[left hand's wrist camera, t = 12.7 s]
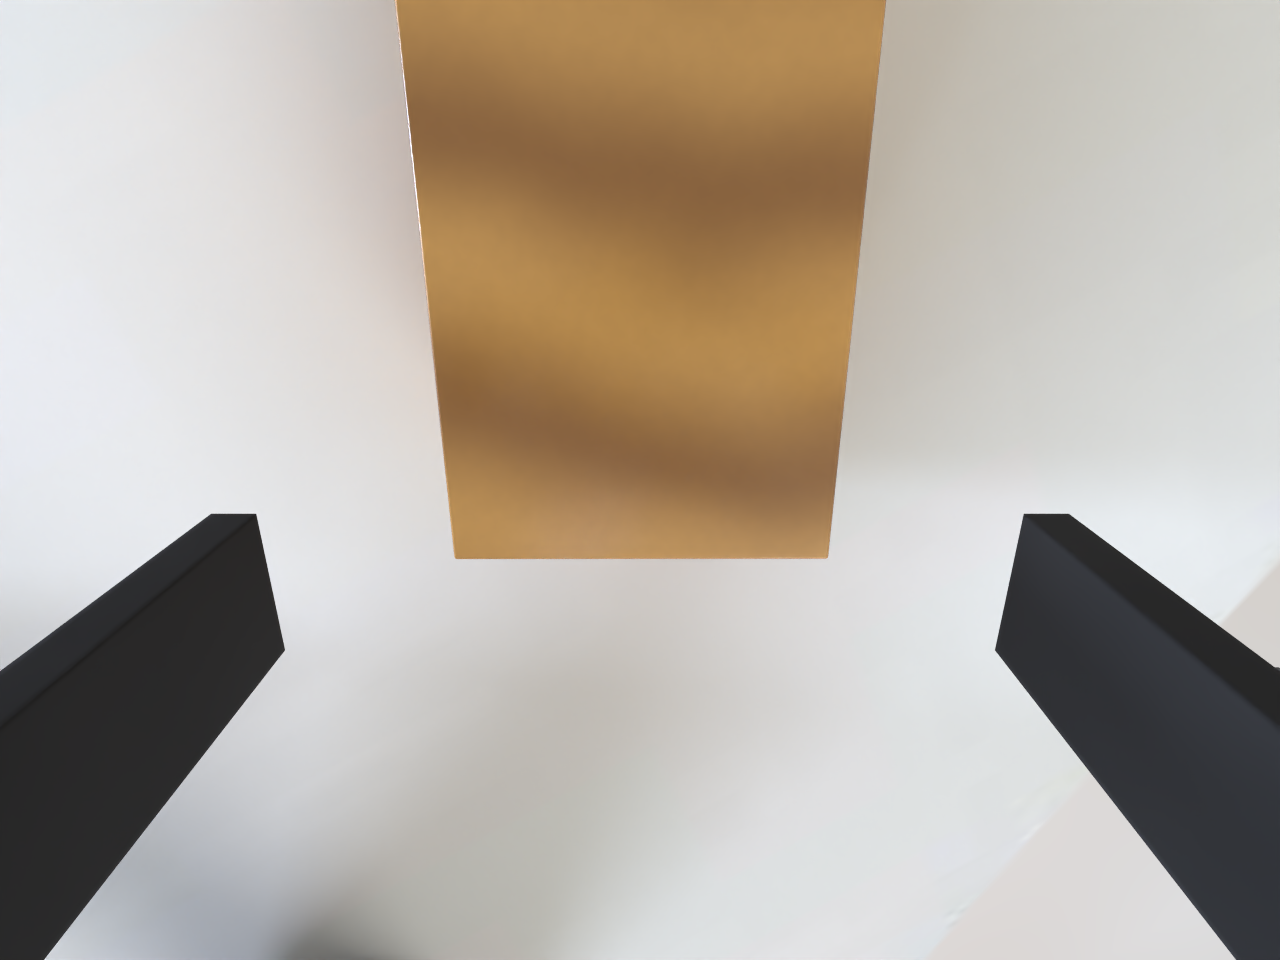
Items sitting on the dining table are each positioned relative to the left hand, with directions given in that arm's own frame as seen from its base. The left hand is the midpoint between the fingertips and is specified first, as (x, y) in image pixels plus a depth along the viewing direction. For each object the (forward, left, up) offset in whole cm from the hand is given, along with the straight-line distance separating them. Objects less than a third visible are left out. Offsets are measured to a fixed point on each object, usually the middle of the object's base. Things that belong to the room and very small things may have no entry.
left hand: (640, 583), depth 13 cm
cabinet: (+7, -1, -18) cm, 19 cm away
